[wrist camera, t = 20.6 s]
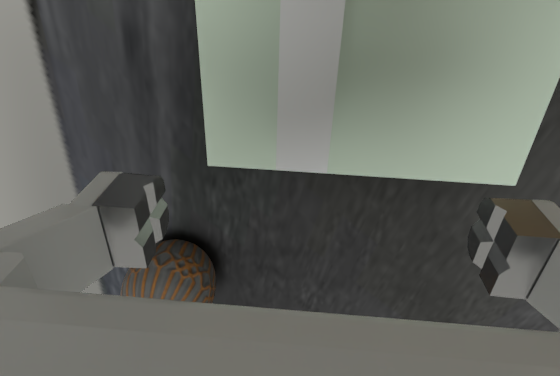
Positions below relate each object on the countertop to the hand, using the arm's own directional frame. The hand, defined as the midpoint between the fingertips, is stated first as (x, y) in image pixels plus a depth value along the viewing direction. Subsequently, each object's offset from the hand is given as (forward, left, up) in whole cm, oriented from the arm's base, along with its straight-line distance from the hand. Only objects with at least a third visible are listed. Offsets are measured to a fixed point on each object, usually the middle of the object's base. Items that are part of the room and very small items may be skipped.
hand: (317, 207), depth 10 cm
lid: (0, +4, -17) cm, 17 cm away
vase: (+17, -10, -16) cm, 25 cm away
